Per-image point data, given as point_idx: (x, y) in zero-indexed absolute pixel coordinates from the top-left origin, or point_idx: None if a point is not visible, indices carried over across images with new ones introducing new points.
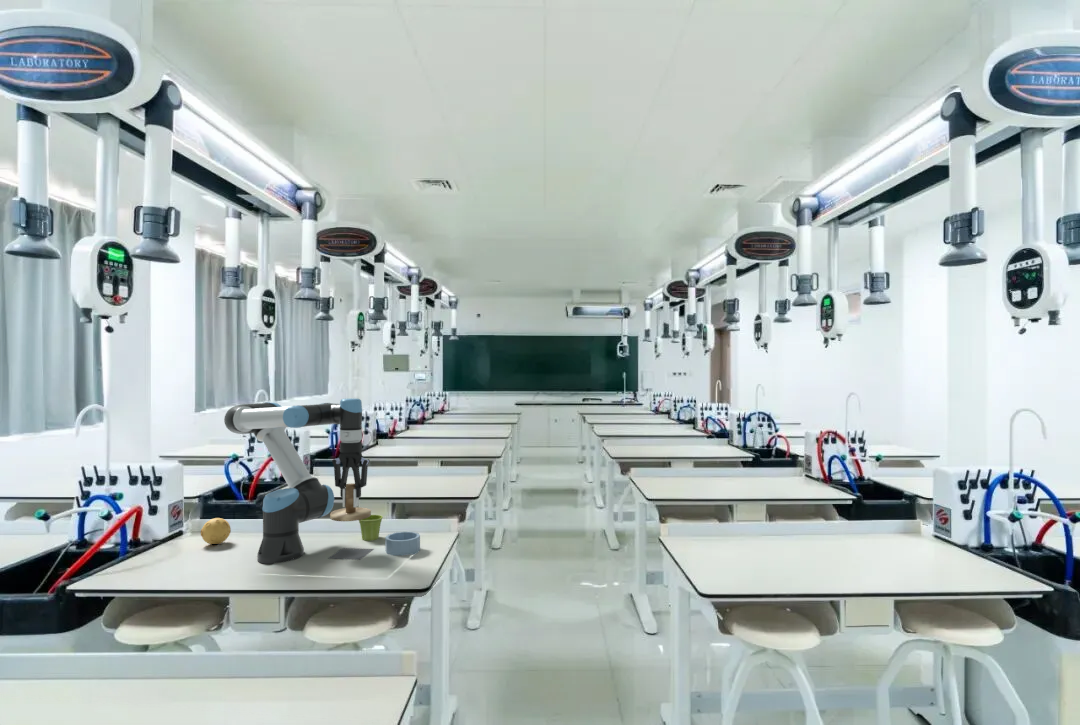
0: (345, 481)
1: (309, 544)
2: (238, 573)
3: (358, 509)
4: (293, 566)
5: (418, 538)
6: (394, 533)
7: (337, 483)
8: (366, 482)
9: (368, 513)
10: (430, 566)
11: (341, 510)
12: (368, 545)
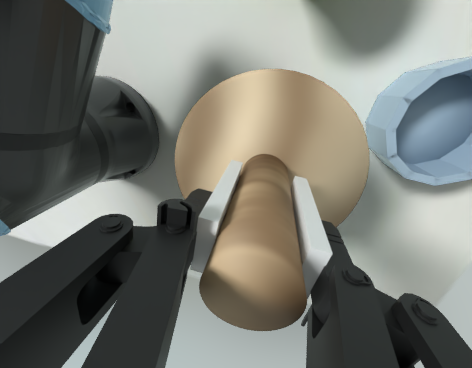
0: (176, 303)
1: (123, 10)
2: (96, 209)
3: (297, 126)
4: (169, 191)
5: None
6: (429, 84)
7: (112, 292)
8: (466, 349)
9: (354, 205)
10: (467, 245)
11: (211, 138)
12: (311, 39)
